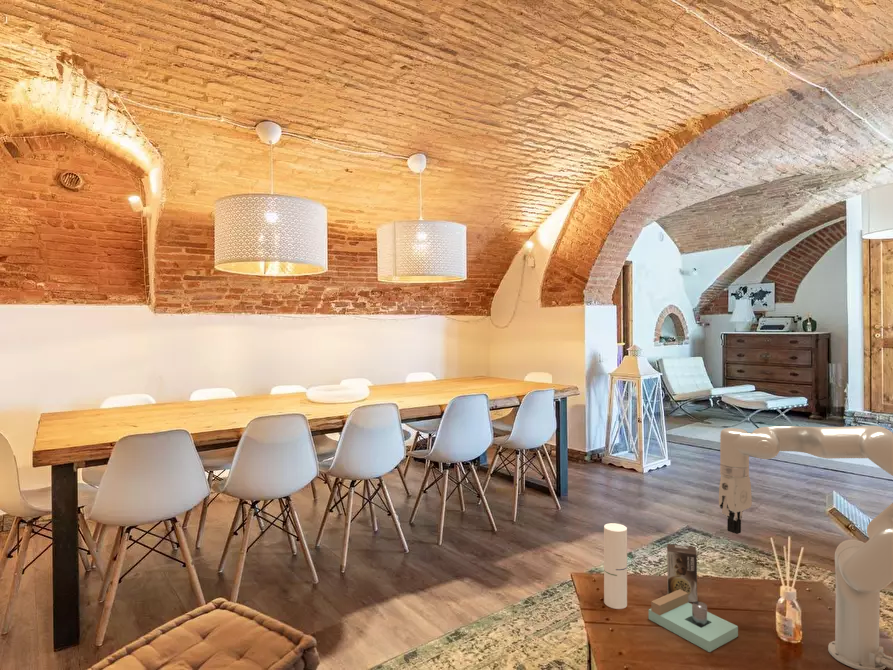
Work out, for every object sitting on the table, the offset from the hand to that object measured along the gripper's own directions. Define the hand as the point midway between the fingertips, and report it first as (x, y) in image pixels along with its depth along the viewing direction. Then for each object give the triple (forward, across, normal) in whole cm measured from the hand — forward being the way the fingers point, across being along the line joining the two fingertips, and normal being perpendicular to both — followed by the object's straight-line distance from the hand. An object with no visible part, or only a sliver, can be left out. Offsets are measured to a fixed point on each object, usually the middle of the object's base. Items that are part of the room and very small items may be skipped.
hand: (734, 531), depth 161 cm
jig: (+29, -10, +7) cm, 32 cm away
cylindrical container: (+29, -18, +29) cm, 45 cm away
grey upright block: (+29, -10, +4) cm, 31 cm away
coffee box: (+29, +4, +20) cm, 36 cm away
